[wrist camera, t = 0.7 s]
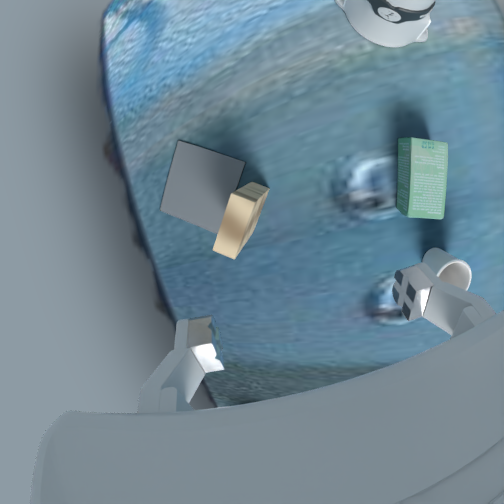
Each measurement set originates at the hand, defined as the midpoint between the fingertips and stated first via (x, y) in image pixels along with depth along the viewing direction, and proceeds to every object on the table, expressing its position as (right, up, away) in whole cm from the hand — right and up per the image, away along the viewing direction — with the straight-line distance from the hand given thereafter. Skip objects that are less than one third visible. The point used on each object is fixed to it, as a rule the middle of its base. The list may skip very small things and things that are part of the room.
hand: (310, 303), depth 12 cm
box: (+27, +16, +33) cm, 46 cm away
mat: (-12, +15, +42) cm, 46 cm away
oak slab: (-2, +11, +41) cm, 42 cm away
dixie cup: (+34, 0, +37) cm, 50 cm away
